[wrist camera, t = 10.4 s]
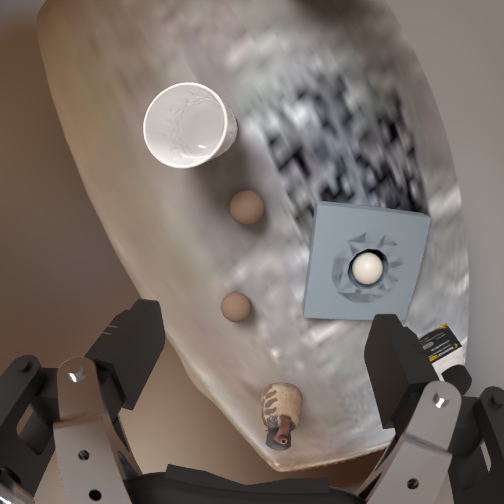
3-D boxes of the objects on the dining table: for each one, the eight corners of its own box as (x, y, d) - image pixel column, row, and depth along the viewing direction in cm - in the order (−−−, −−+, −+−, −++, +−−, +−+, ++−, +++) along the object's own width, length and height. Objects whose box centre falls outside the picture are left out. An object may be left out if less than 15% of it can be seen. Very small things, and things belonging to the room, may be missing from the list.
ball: (352, 246, 35) (358, 258, 32) (380, 249, 35) (389, 260, 31) (347, 275, 37) (352, 288, 33) (374, 276, 36) (382, 290, 33)
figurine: (256, 400, 47) (249, 454, 36) (270, 377, 45) (265, 435, 34) (291, 409, 48) (290, 461, 37) (308, 387, 45) (311, 443, 34)
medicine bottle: (445, 321, 38) (477, 367, 27) (448, 348, 40) (475, 393, 29) (409, 341, 40) (434, 392, 29) (415, 366, 42) (437, 415, 31)
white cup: (256, 134, 32) (246, 130, 22) (205, 174, 34) (177, 186, 25) (216, 86, 30) (191, 66, 21) (167, 127, 32) (128, 123, 23)
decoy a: (233, 186, 34) (227, 192, 30) (266, 188, 34) (264, 194, 30) (232, 218, 36) (226, 227, 32) (264, 220, 35) (262, 229, 32)
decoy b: (224, 285, 39) (218, 300, 35) (253, 288, 39) (250, 303, 35) (224, 310, 41) (218, 326, 37) (251, 312, 40) (248, 329, 37)
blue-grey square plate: (315, 200, 34) (317, 204, 31) (422, 213, 33) (431, 218, 30) (302, 307, 39) (303, 317, 37) (398, 311, 38) (404, 320, 36)
